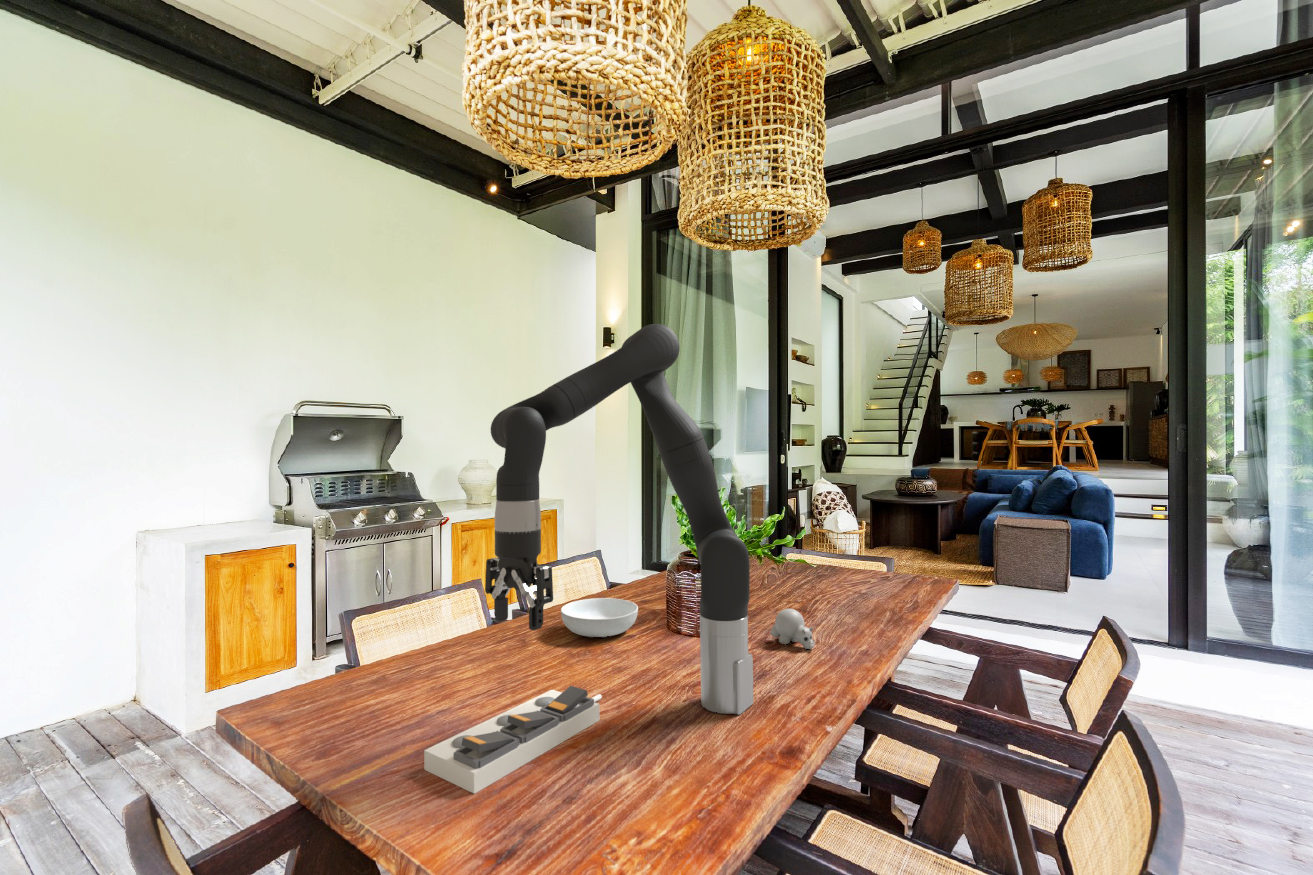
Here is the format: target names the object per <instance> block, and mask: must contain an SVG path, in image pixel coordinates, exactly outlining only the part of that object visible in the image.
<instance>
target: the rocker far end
mask: <svg viewBox="0 0 1313 875" xmlns="http://www.w3.org/2000/svg"><path fill="white" fill-rule="evenodd" d="M511 742H512V738H509V737H507V736H504V735H501V734H499V733H496V732H493V733H487V734H482V735H476V736H470V737H465V738H463V739H462V746H465V747H467V748H470V749H472V750H474V751H477V752H483V751H487V750H492V749H497V748H501V747H504V746H506V745H507V744H509V743H511Z"/></svg>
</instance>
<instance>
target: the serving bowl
mask: <svg viewBox="0 0 1313 875" xmlns="http://www.w3.org/2000/svg"><path fill="white" fill-rule="evenodd" d="M638 614H639V606H638V604H636V603H635V602H633V601H631V600H626V599H622V598H614V597H595V598H594V597H593V598H585V599H580V600H573V601H571V602H569V603H566V604H564V605H563V606H562V607H561V608H560V615H561V619H562V623H563V624H564V625H565V627H566V628H567V629H568V630H570V631H571V632H572V633H574V634H577V635H579V636H582V637H583V636H584V637H589V638H593V637H602V638H608V637H607V636H609V637H612V636H616V635H619V634H622V633H624V632H626V631H627V630H629V629H630V628H631V627H632V626H633V625H634V624H635V622H636V620H637V617H638Z"/></svg>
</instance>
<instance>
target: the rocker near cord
mask: <svg viewBox="0 0 1313 875" xmlns="http://www.w3.org/2000/svg"><path fill="white" fill-rule="evenodd" d="M585 697H589V694H588V689H587V690H586V689H583V688H581V687H577V686H573V685H569V687H567V688H566V689H565V690H564V691H563V692H562V693H561V694H560V695H559V696H558V697H557V698H556V699H554V700H553V701H552V702H551V703H550V704H549V705H547V709H548V710H551V711H554V712H557V713H560V714H565V713H567V712H569V711H571V710H572V709H573V708H574V707H575V706H577V705H578V704H579V703H580V702H581V701H582V700H583V699H584V698H585Z"/></svg>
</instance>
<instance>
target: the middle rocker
mask: <svg viewBox="0 0 1313 875" xmlns="http://www.w3.org/2000/svg"><path fill="white" fill-rule="evenodd" d="M552 719H553V717H551V716H548V715H545V714H542V713H539V712H529V713H523V714H517V715H510V716H508V721H507V722H508V723H510V724H513V725H516V726H519V727H521V728H530V727H535V726H540V725H545V724H547V723H548V722H550V721H552Z"/></svg>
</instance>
